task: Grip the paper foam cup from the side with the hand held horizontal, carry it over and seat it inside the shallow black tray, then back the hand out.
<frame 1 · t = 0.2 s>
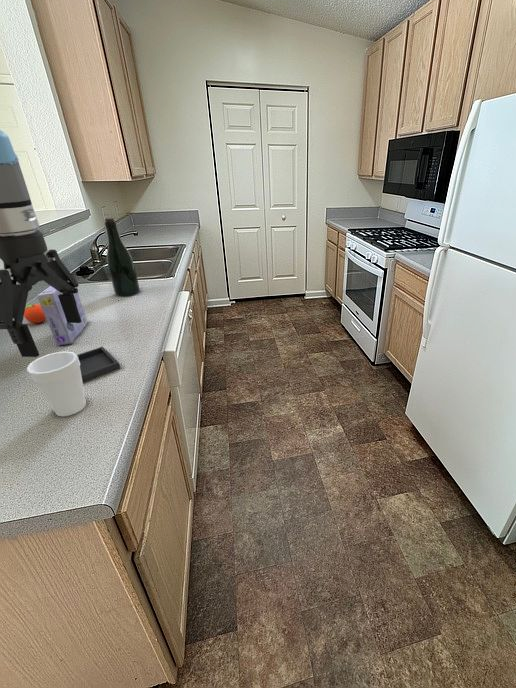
hand: (54, 337, 68), 21 cm above the counter, tool pointing down, fingers open, 13 cm apart
beer bottle: (128, 293, 152), on the counter
shallow black tray: (87, 369, 95), on the counter
red tomato: (37, 323, 124), on the counter
foam cup: (71, 408, 80), on the counter
cake pan box: (74, 333, 116), on the counter
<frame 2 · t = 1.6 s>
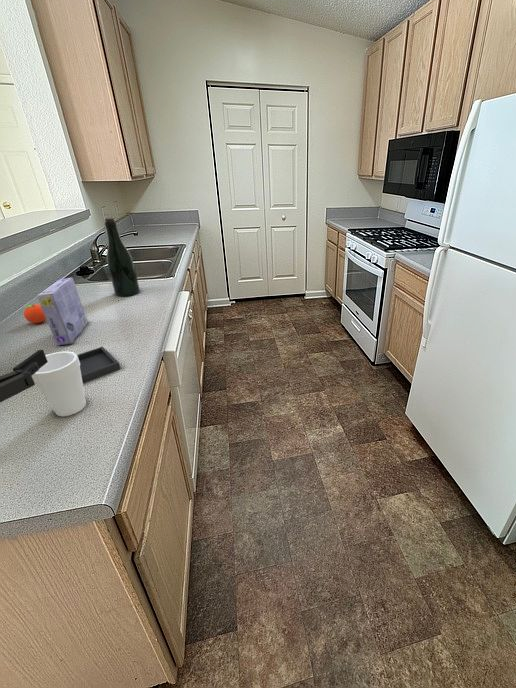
hand: (7, 356, 63), 20 cm above the counter, tool horizontal, fingers open, 13 cm apart
nothing on the counter moved.
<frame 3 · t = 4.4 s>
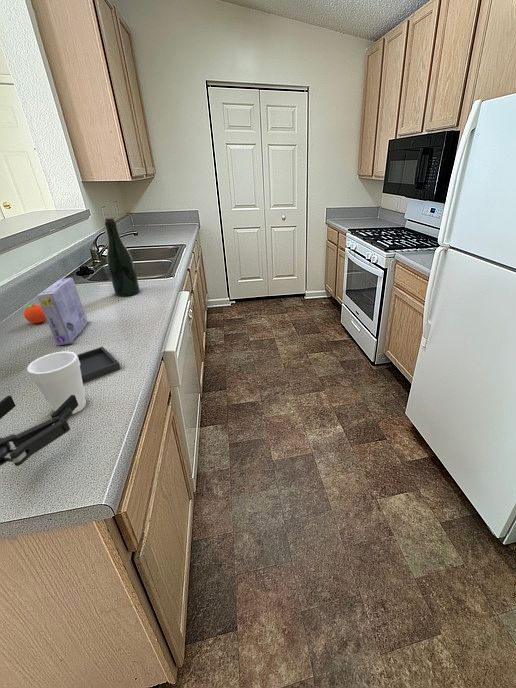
hand: (43, 400, 72), 7 cm above the counter, tool horizontal, fingers open, 13 cm apart
nothing on the counter moved.
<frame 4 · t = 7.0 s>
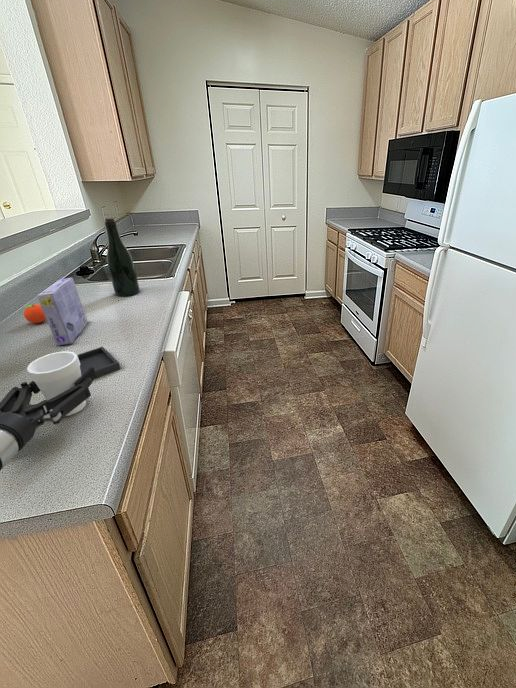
hand: (72, 372, 81), 7 cm above the counter, tool horizontal, fingers closed on foam cup, 9 cm apart
foam cup: (71, 408, 80), on the counter, touching gripper
everything else where it was.
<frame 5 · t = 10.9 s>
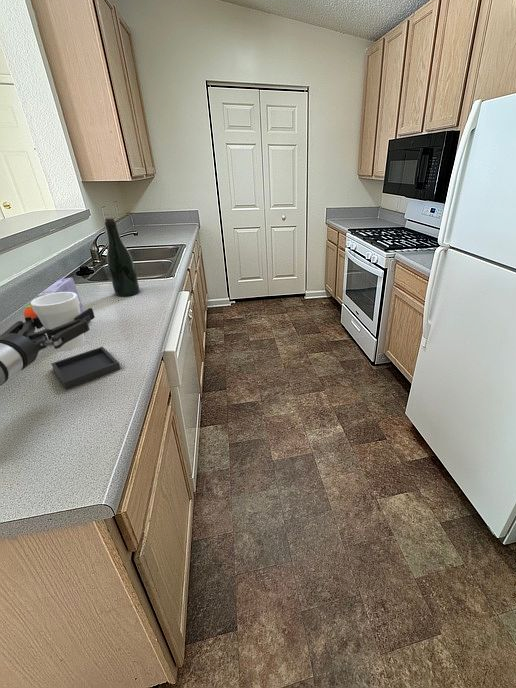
hand: (72, 312, 87), 18 cm above the counter, tool horizontal, fingers closed on foam cup, 9 cm apart
foam cup: (71, 345, 86), point 10 cm above the counter, touching gripper
everything else where it was.
when the fingers open (8 cm above the counter, at t = 14.9 s): foam cup stays where it is, resting on shallow black tray.
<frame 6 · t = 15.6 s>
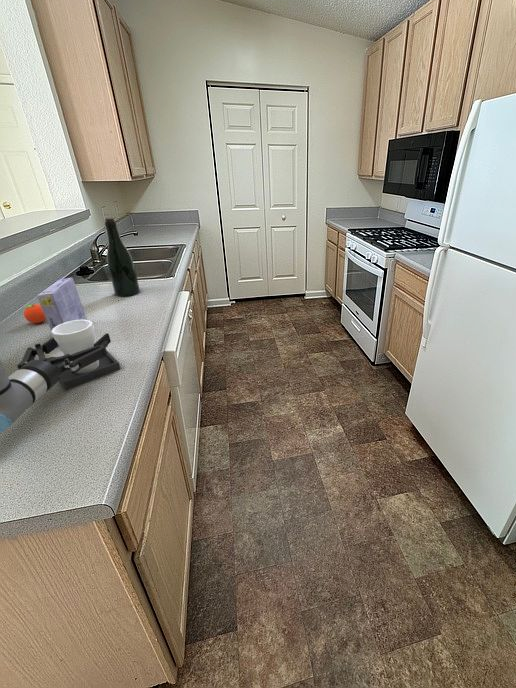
hand: (84, 337, 95), 8 cm above the counter, tool horizontal, fingers open, 13 cm apart
foam cup: (86, 367, 95), resting on shallow black tray
everything else where it was.
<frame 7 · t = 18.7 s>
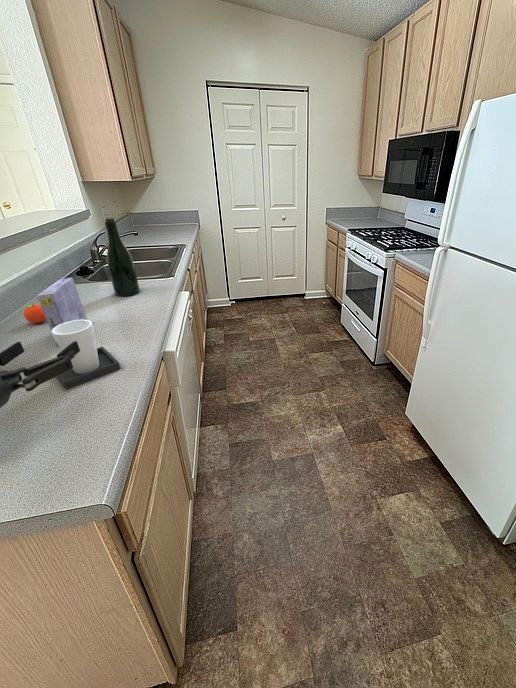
hand: (49, 346, 81), 13 cm above the counter, tool horizontal, fingers open, 13 cm apart
nothing on the counter moved.
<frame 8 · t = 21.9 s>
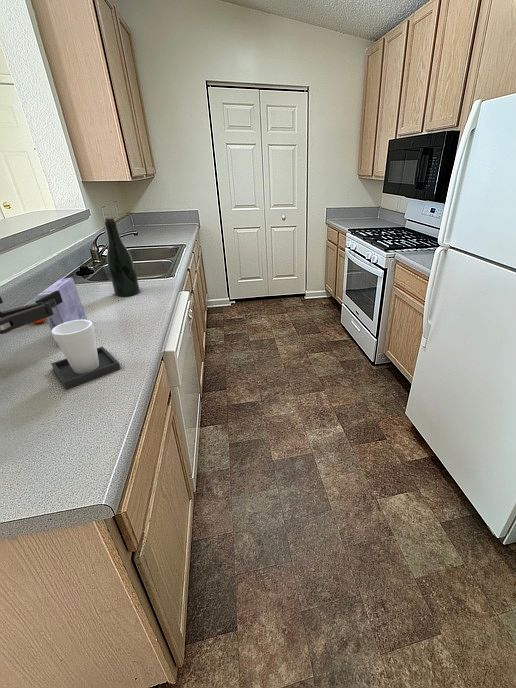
hand: (29, 296, 75), 26 cm above the counter, tool horizontal, fingers open, 13 cm apart
nothing on the counter moved.
at the end: foam cup 0.1 cm off-centre in the shallow black tray, point 0.4 cm above the shallow black tray's base; foam cup tilted 0°; the gripper is holding nothing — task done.
